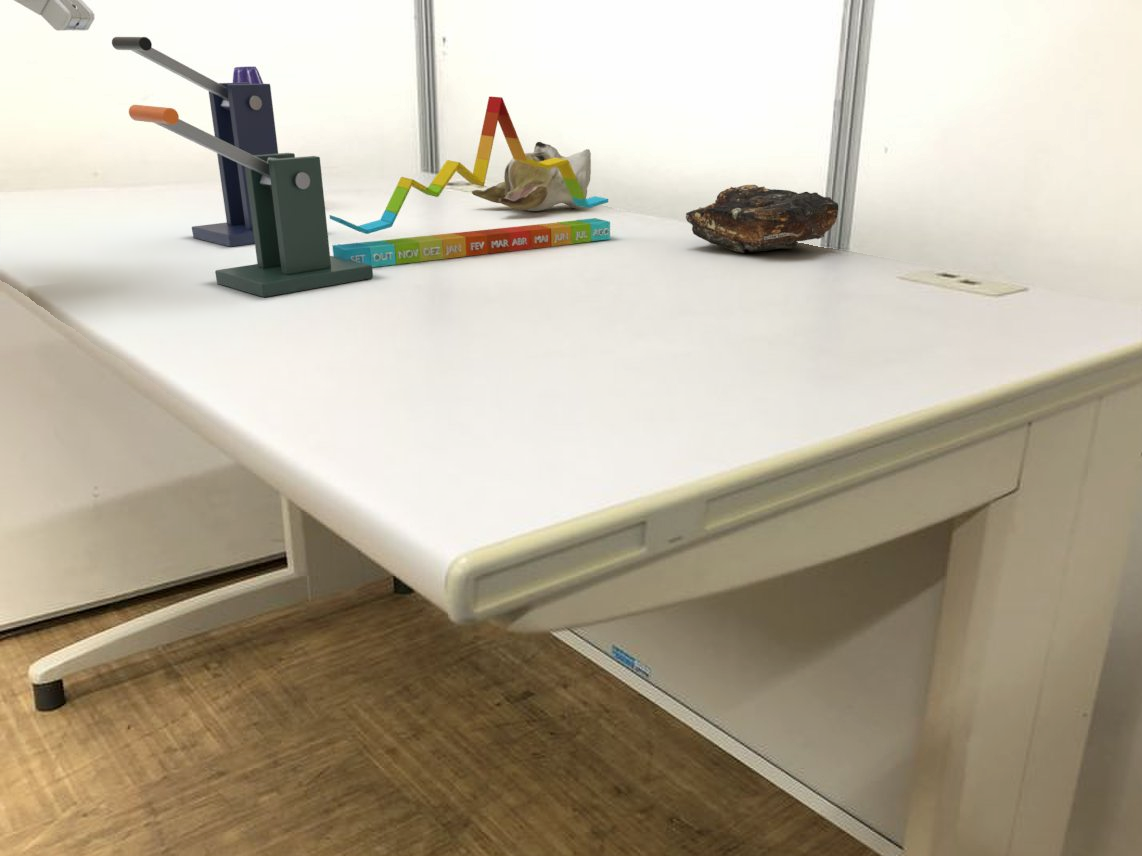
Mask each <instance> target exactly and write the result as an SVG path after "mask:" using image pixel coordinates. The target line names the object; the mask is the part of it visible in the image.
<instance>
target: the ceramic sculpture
mask: <svg viewBox="0 0 1142 856" xmlns="http://www.w3.org/2000/svg"><path fill="white" fill-rule="evenodd" d="M524 153H525V156H526V158H528V159H531V160H534V161H536V162H541V161H544V160H548V159H551V158H561V159H567V160H568V161H569V163H570V165H571V167H572V170H573V172H574V174H575V176H576V178H577V180H578V183H579V185H580V187H581V189H582V191H583V194H584V196H585V198H586V199H587V195H588V188H589V185H590V182H591V175H592V173H591V172H592V159H591V157H592V153H591V150H590V148H586V149H584V150H582V151H580V152H576V153H573V154H571V155H569V156H563V155H561V154H560V153H559V151H558V149H557V148H556V147H554V146H552V145H550V144H547V143H544V142H542V141H537V142H536V143H535V146H534V148H533V152H524ZM503 180H504V181H502V182H499V183H498V184H496V185H492V186H490V187H488V188H486V189H484V190H481V189H474V190H471V194H472V195H473V196H474V197H478V198H480V199H483V200H486V201H488V202H491V203H496V204H501V205H504V206H506V207H509V208H512V209H514V210H520V211H529V212H541V211H546V210H549V209H550V208H552V207H554V206H555V205H560V204H564V205H566V206H568V207H569V208H572V209H577V208H580V207H581V206H577V205H575V203H574V201H573V199H572V197H571V195H570V192H569V190H568V188H567V186H566V184H565V182H564V180H563V177H562V175H561V173H560V171H559V169H558V167H553V168H550V169H545V168H540V167H534V166H531V165H528V164H525V163H523V162H520V161H517V160H514V159H513V157H512V158H511V159H510V161H509V162H507V165H506V167H505V169H504V177H503ZM581 208H582V207H581Z"/></svg>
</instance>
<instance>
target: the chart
mask: <svg viewBox="0 0 1142 856" xmlns="http://www.w3.org/2000/svg"><path fill="white" fill-rule="evenodd" d="M498 124H499V126H500V129H501V131H502V134H503V136H504V139H505V141H506V143H507V146H508V149H509V151H510V153H511V156H512V158H513V159H514V160H517V161H520V162H523V163H525V164H528V165H531V166H534V167H540V168H545V169H550V168H553V167H558V169H559V171H560V173H561V175H562V177H563V180H564V182H565V184H566V186H567V188H568V190H569V192H570V195H571V197H572V199H573V201H574V203H575V205H577V206H581V208H587V209H591V208H594V207H597V206H601V205H604V204H607V203H609V198H605V197H601V196H596V195H594V196H591V197H586V198H585V196H584V194H583V191H582V189H581V187H580V185H579V183H578V180H577V178H576V176H575V174H574V172H573V170H572V167H571V165H570V163H569V161H568V160H567V159H561V158H551V159H548V160H544V161H541V162H536V161H534V160H531V159H528V158H526V156H525V153H526V152H525V151H524V149H523V145H522V143H521V141H520V138H519V136H518V133H517V131H516V128H515V126H514V123H513V121H512V118H511V115H510V113H509V110H508V108H507V106H506V103H505V100H504V99H503V97H502V96H488V100H487V104H486V109H485V114H484V119H483V123H482V128H481V134H480V137H479V142H478V147H477V152H476V156H475V161H474V166H473V170H472V172H471V170H469V169H468V168H467V167H465V165H464V164H462V163H461V162H460V161H456V160H455V161H454V160H449V159H447V160H446V161H445V162H444V164H443V165H442V167H441V168H440V169H439V171H438V172H437V174H436V175H435V177H434V178H433V180H432V181H431V182H430V184H429V185H428V187H427V186H425V185H424V184H422V183H420V182H418V181H417V180H415V179H413V178H408V177H404V176H401V177H400V178H399V180H398V183H397V184H396V187H395V188H394V191H393V192H392V195H391V196H390V199H389V200H388V202H387V205H386V207H385V209H384V211H383V213H382V214H381V217H380V219H378V220H374V221H371V222H367V223H364V224H359V225H356V224H354V223H351V222H349V221H347V220H345V219H342V218H340V217H337V216H334V215H331V214H329V220H332V221H333V222H336V223H339V224H341V225H343V226H346V227H347V228H349V229H352V230H354V231H357V232H360V233H363V234H366V235H369V234H373V233H375V232H379V231H383V230H387V229H390V228H392V227H393V225H394V223H395V221H396V219H397V217H398V215H399V213H400V212H401V209H402V207H403V205H404V203H405V201H406V199H407V196H408V194H409V193H410V190H411V188H413V189H416V190H417V191H419V192H421V193H423V194H425V195H427V196H431V197H434V198H438V197H440V196H441V193H442V192H443V190H444V189H445V187H447V185H448V184H449V182H450V181H451V180H452V178H453V176H454V175H455V173H458V174H459V175H460V176H461V177H462V178H464V179H465V180H466V181H467V182H468V184H471V185H475V186H479V187H485V183H486V179H487V178H486V177H487V174H488V169H489V164H490V160H491V156H492V150H493V146H494V142H495V141H494V140H495V135H496V132H497V126H498ZM605 240H611V221H609V220H605V219H601V218H597V217H594V218H593V217H591V218H583V219H575V220H565V221H556V222H549V223H547V222H546V223H539V224H538V223H537V224H530V225H529V224H528V225H520V226H519V225H518V226H508V227H498V228H491V229H490V228H488V229H480V230H479V229H478V230H472V231H471V230H470V231H469V230H468V231H459V232H450V233H441V234H440V233H439V234H431V235H430V234H429V235H421V236H419V235H418V236H412V237H401V238H391V239H390V238H389V239H382V240H370V241H363V242H352V243H342V244H332V256H333V257H338V258H342V259H347V260H351V261H355V262H360V263H364V264H368V265H372V268H376V267H386V266H393V265H403V264H410V263H420V262H428V261H436V260H437V261H438V260H445V259H447V260H448V259H455V258H462V257H464V258H465V257H471V256H479V255H490V254H497V253H505V252H515V251H523V250H532V249H533V250H534V249H540V248H548V247H557V246H566V245H572V244H580V243H590V242H596V241H597V242H598V241H605Z"/></svg>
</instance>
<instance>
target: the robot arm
mask: <svg viewBox="0 0 1142 856" xmlns="http://www.w3.org/2000/svg"><path fill="white" fill-rule="evenodd" d="M13 1H14V2H15V3H18V4H19V5H21V6H23V7H25V8H26V9H28V10H30V11H32V12H34V13H35V14H37V15H38V16H41V17H42V18H43V19H44V20H45V21H46V22H47V23H48V25H50V27H52V28H53V29H54V30H55V31H59V32H61V31H84V32H85V31H88V30H90V27H91V26H92V24H93V22H94V20H95V13H94V11H93V10H92V8H90V7H89V6H88V5H87V3H85V2H84V1H83V0H13Z"/></svg>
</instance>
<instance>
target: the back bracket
mask: <svg viewBox="0 0 1142 856" xmlns="http://www.w3.org/2000/svg"><path fill="white" fill-rule="evenodd" d="M218 83H219V84H221V85H223V86H224V87H226V88H227V91H228V98H229V106H230V111H229V110H227V109H226V108H224V107H222V106H221V104H222V101H223V98H221V97H219V96H217V95H215V94H213V93H211V92H209V91H208V97H209V98H208V99H209V104H210V112H211V119H212V126H213V133H214V136H215V137H217V138H219V139H221V140H223V141H225V142H227V143H229V144H231V145H233V146H235V147H237V148H239V149H241V150H243V151H245V152H247V153H249V154H251V155H265V154H278V153H279V147H278V139H277V138H278V137H277V131H276V123H275V113H274V105H273V97H272V88H271V87H272V86H271V84H270V83H263V84H250V83H233V82H218ZM216 156H217V162H218V163H217V164H218V169H219V176H220V185H221V190H222V191H221V192H222V200H223V206H224V212H225V219H226V221H225V222H219V223H210V224H201V225H194V226H191V231H192V232H191V233H192V237H193V239H197V240H201V241H206V242H209V243H214V244H218V245H222V246H226V247H229V248H231V247H238V246H245V245H253V244H254V245H255V240H254V233H253V225H252V217H251V210H250V202H249V194H248V187H247V179H246V171H245V166H243V165H241V164H239V163H237V162H235V161H233V160H231V159H228V158H226V157H224V156H222V155H220V154H218V153H216Z"/></svg>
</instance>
